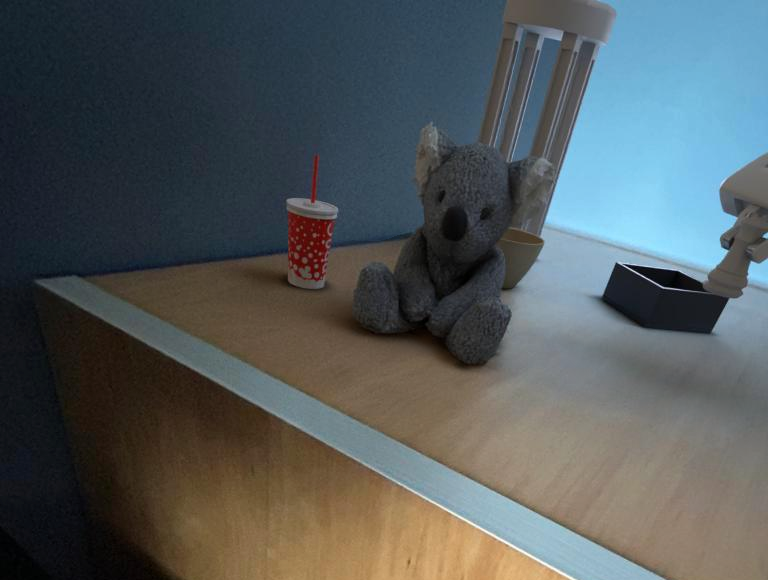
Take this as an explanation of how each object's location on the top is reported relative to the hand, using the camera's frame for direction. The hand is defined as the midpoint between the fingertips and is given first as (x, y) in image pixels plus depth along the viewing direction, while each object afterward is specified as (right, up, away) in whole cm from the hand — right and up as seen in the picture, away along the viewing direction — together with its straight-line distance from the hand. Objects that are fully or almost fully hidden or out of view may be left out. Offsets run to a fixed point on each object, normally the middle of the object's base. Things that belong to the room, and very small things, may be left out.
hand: (737, 251), depth 61 cm
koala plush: (-32, -6, +6) cm, 33 cm away
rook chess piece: (0, -3, +3) cm, 5 cm away
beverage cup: (-48, +1, +11) cm, 49 cm away
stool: (-18, +19, +42) cm, 50 cm away
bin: (+4, +3, +28) cm, 28 cm away
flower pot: (-20, +7, +27) cm, 35 cm away
